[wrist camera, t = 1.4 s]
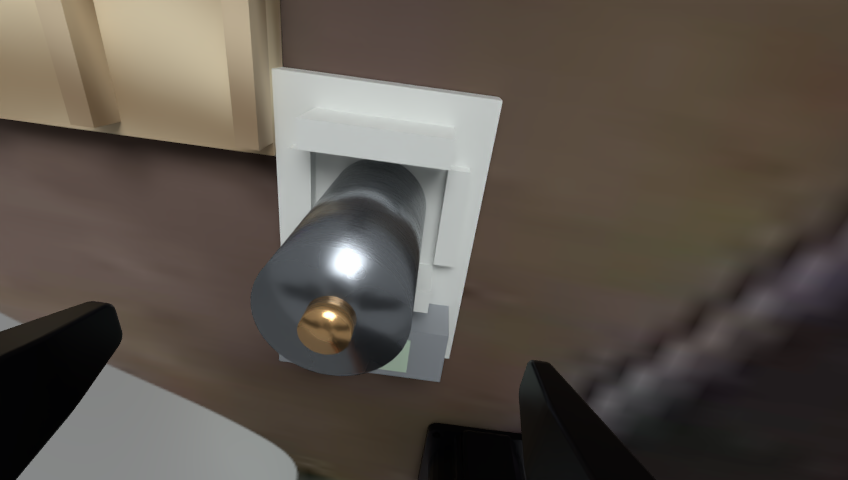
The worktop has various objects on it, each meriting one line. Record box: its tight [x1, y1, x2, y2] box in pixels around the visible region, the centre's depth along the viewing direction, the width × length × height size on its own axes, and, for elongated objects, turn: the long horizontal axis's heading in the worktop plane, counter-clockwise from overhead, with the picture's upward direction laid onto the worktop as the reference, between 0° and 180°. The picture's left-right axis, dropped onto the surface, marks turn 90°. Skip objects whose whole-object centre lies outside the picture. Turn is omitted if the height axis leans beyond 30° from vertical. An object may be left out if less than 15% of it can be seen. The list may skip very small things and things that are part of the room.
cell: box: [251, 159, 426, 376], centre depth 12 cm, size 4×4×8 cm
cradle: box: [272, 67, 503, 382], centre depth 15 cm, size 12×8×3 cm, turn 173°
